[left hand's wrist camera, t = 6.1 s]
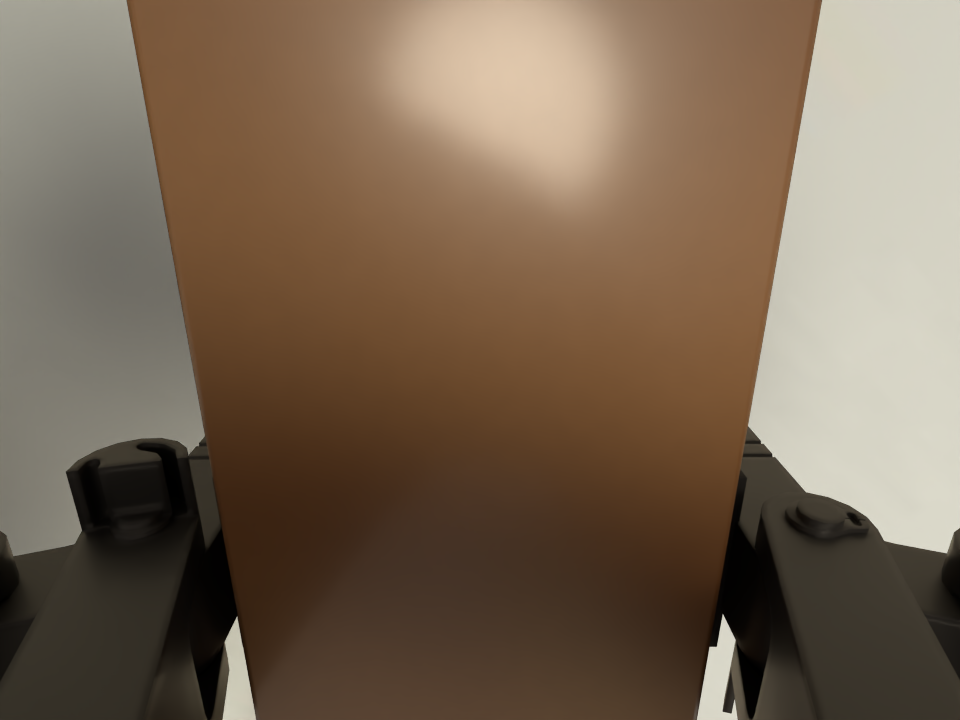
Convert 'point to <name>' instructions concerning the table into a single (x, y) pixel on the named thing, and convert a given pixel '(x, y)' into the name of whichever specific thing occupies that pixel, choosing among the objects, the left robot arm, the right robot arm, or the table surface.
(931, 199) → the table surface
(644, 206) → the beam
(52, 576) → the left robot arm
